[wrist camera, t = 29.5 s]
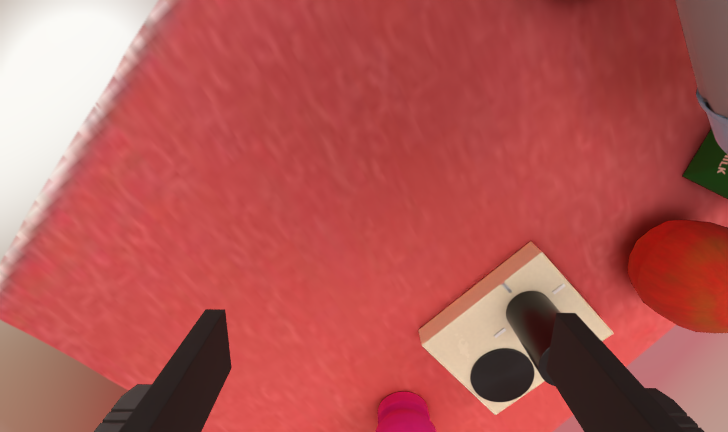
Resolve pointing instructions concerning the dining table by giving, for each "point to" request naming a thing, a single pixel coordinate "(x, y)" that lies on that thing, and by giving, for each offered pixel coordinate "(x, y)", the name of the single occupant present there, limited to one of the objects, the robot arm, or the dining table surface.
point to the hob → (500, 316)
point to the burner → (502, 375)
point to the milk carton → (710, 167)
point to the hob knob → (533, 326)
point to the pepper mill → (404, 414)
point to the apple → (684, 273)
